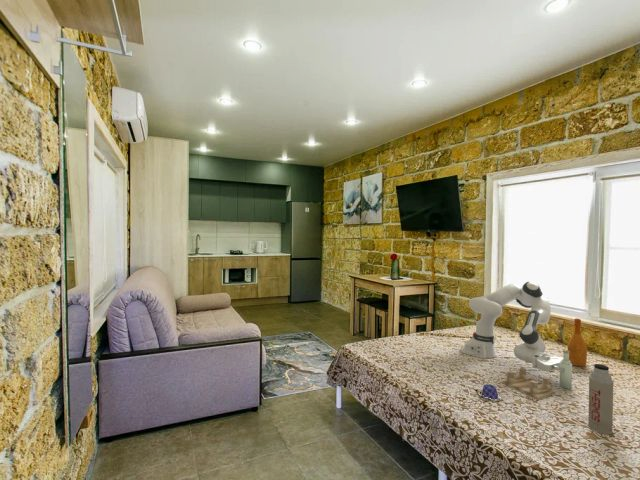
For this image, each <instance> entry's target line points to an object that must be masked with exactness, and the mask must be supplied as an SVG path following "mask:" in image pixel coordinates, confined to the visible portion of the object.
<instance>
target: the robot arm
mask: <svg viewBox="0 0 640 480" xmlns="http://www.w3.org/2000/svg"><path fill="white" fill-rule="evenodd" d="M542 296H543V292H542V289H541V287H540V285H539V284H538V283H537V282H535V281H531V280H530V281H526V282H525V283H523V285H522V287H520V286H519V285H518V284H515V283H511V284H507V285H505V286H502V287H500V288H499V289H497V290H496V291H493V292H491V293H489V294H486V295H482V296H477V297H471V299H469V302H468V306H469V308H470V309H471V310H472V311H473V312H475V313H477V314H479V315H480V314H481V316H480V319H479V320H477V321H476V323H475V331H473V333H472V337H471V338H470V339H468V340H466V341H465V343H464V346H462V347H461V348H460V352H461V353H462V354H465V355H469V356H472V357H475V358H476V357H477V358H479V359H486V358H487V359H492V358H495V357H496V356H497V354H496V351H495V333H494V329H495V323H496V320H497V319H498V318H499V317H501V316H502V314H503V307H505V306H506V305H508V304H510V303H512V302H513V301H514V300H515V301H516V303H517V304H519V306H521V307H523V308H526V309H530V311H529V312H528V314H527V316H526V319H525V323H524V325H523V327H522V328H521V330H520V331H519V338H520V339H521V340H522V342H523V343H522V344H520V345H519V344H518V345H515V346H514V347H513V354H514V356H515V357H516V358H517V359H519V360H520V361H523V362H525V363H528V364H532V368H533V369H538V370H539V371H540V370H541V371H542V372H543V371H544V372H551V371H558V372H560V371H562V372H563V371H565V369H564V368H562V367H560V361H562V359H563V357H559V356H556V355H555V356H554V355H553V356H549V354H547V353H546V352H545V351H546V348H547V346H546V343H545V342H544V341H543V339H542V337H541V335H540V334H539V332H538V330H537V327H538V325H545V324H546V325H547V324H548V323H549V321H550V318H551V313H552V312H551V302H550V301H549V300H547V298H544V297H542Z"/></svg>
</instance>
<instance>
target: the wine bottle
mask: <svg viewBox="0 0 640 480" xmlns="http://www.w3.org/2000/svg"><path fill="white" fill-rule="evenodd" d="M573 322H574V330H573V333H572V335H571V337H570V339H569V341H568V344H567V350H568V351H569V360H570V361H571V364H572V366H576V367H586V365H587V362H588V361H587V357H588V349H587V345H586V341H585V340H584V337H583V334H582V332H581V325H582V320H581V319H580V318H574V321H573Z"/></svg>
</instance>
